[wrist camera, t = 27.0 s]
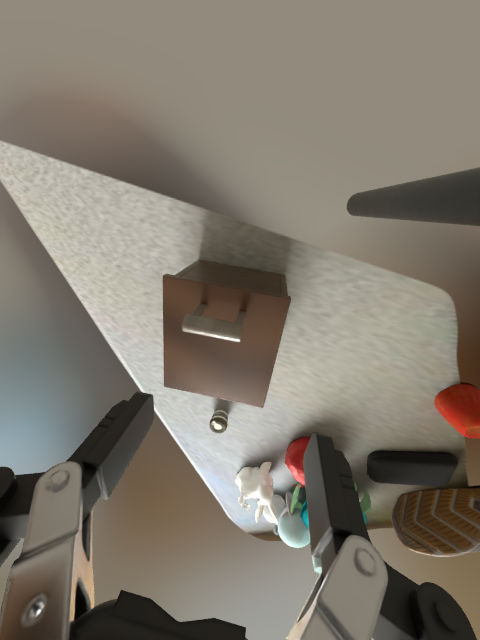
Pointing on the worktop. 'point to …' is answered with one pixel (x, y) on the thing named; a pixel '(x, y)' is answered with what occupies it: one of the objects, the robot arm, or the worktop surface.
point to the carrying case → (411, 467)
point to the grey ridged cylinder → (219, 421)
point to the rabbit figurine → (256, 488)
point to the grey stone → (277, 504)
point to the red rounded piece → (461, 408)
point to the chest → (236, 276)
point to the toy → (304, 523)
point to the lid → (221, 338)
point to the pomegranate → (297, 458)
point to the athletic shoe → (439, 521)
